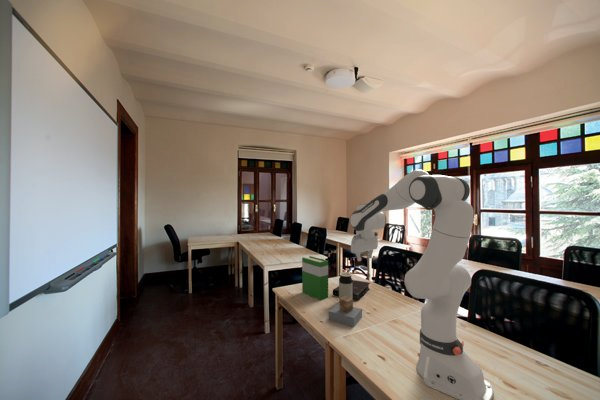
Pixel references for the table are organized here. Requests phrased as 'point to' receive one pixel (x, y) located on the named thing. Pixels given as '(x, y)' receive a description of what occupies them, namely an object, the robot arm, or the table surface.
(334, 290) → the diary
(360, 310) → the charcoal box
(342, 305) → the walnut block
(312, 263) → the green cereal box
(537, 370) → the table surface
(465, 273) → the robot arm
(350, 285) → the travel mug
